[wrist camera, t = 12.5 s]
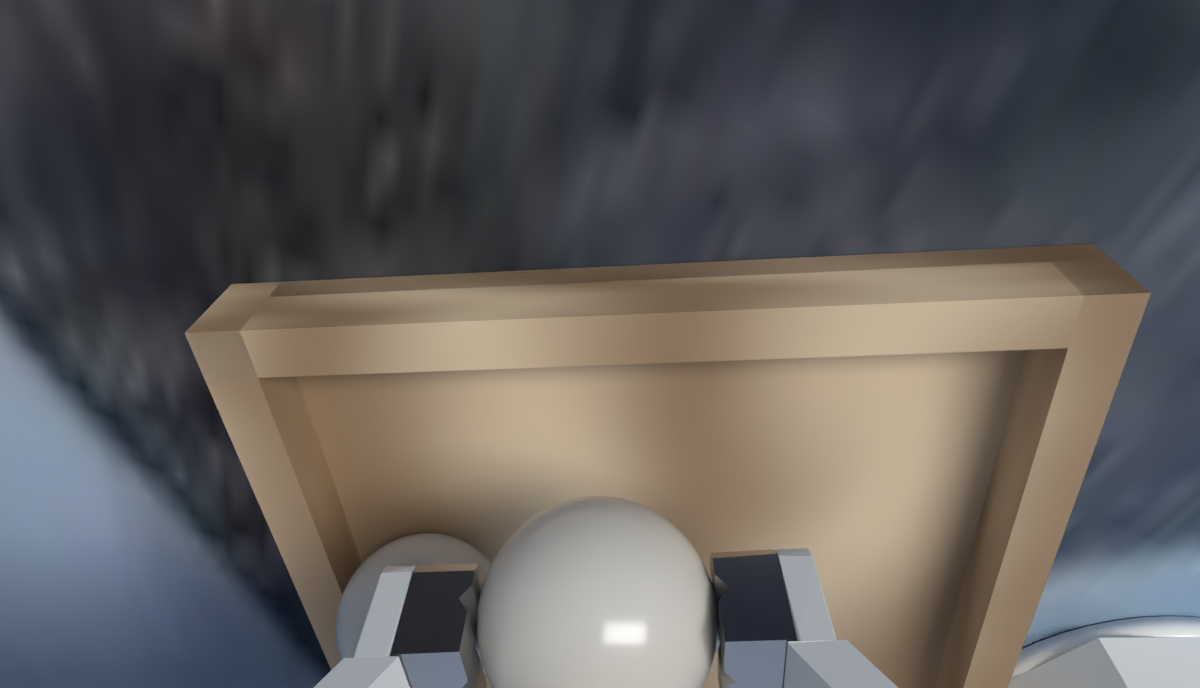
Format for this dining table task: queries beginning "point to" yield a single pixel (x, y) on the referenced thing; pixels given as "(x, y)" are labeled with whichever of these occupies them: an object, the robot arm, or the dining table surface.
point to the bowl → (1115, 656)
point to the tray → (699, 422)
